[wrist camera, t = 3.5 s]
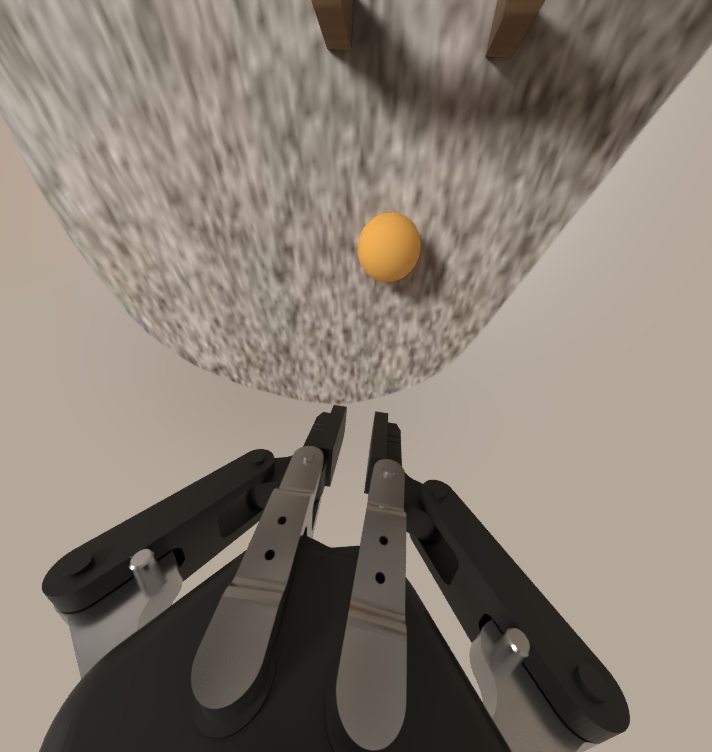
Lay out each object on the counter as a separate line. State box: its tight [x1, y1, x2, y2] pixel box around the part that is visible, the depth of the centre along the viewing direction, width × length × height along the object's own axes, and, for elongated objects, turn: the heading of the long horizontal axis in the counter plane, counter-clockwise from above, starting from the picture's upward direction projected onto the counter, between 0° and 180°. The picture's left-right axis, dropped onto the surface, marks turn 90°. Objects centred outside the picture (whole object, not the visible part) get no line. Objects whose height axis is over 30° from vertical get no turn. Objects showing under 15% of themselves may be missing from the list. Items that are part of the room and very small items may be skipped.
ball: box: [358, 212, 421, 282], centre depth 25 cm, size 6×6×6 cm
